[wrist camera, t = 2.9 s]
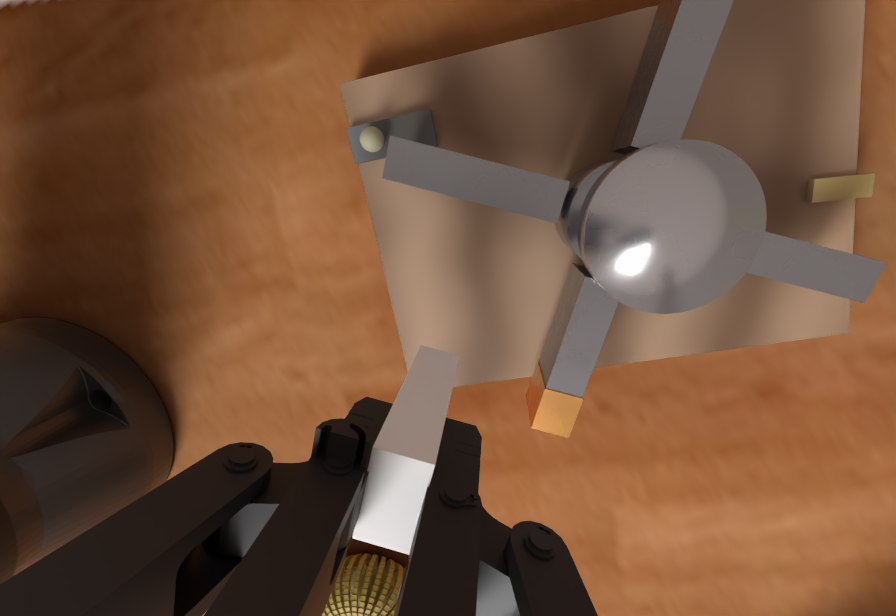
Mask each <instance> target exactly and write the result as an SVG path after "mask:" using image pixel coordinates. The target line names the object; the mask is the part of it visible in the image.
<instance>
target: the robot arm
mask: <svg viewBox="0 0 896 616" xmlns="http://www.w3.org/2000/svg"><path fill="white" fill-rule="evenodd" d="M458 361H459V355H456V354H452V353H448V352H445V351H441V350H437V349H434V348H430V347H426V346H423V345H421V346H420V348H419V350H418V352H417V355H416V357H415V359H414V361H413V363H412V365H411V367H410V369H409V371H408V374H407V376H406V378H405V380H404V382H403V384H402V386H401V388H400V390H399V393H398V395H397V397H396V399H395V401H394V403H393V404H391V403H387V402H384V401H380V400H377V399H373V398H369V397H365V398H363V399H362V400H360V401H358V402H356V403H355V404H354V406H353V407H352V409H351V410H350V412H349V414H348V415H347V416H346V418H345V419H331V420H328V421H325V422H322V423H321V424H320V425H319V426H318V427H316V431H315V437H314V443H313V449H312V454H311V458H310V459H309V461H306V462H301V463H273V457H272V455H271V452H270V451H269V450H267V449H266V448H265V447H263V446H261V445H258V444H254V443H243V442H240V443H235V444H229V445H227V446H225V447H222V448H220V449H218V450H216V451H215V452H213V453H211V454H210V455H208V456H207V457H205V458H203V459H202V460H200V461H198V462H197V463H195V464H194V465H192V466H190V467H189V468H187V469H186V470H184V471H182V472H181V473H179V474H177V475H176V476H174V477H173V478H171V479H169V480H168V481H166V479H167V477H168V474H169V472H170V468H171V464H172V459H173V436H172V430H171V425H170V421H169V418H168V415H167V412H166V410H165V407H164V405H163V403H162V401H161V399H160V397H159V395H158V393H157V392H156V390H155V389H154V387H153V385H152V384H151V383H150V381H149V380H148V378H147V377H146V376H145V375H144V373H143V372H142V371H141V370H140V369H139V368H138V367H137V365H136V364H135V363H134V362H133V361H132V360H131V359H129V358H128V357H127V356H126V355H125V354H124V353H123V352H122V351H120V350H119V349H118V348H116V347H115V346H114V345H112V344H111V343H109V342H108V341H106V340H105V339H103V338H102V337H100V336H98V335H96V334H94V333H93V332H91V331H88V330H86V329H84V328H82V327H79V326H77V325H74V324H71V323H67V322H64V321H60V320H55V319H49V318H21V319H15V320H11V321H8V322H4V323H1V324H0V616H202V615H203V614H204V613H205V612H206V611H207V612H206V613H205V615H204V616H322V614H323V612H324V609H325V607H326V604H327V602H328V599H329V597H330V595H331V592H332V590H333V587H334V585H335V582H336V580H337V577H338V575H339V572H340V570H341V567H342V565H343V562H344V560H345V557H346V553H347V549H348V544H349V540H350V538H351V535H352V533H353V537H352V538H353V539H356V540H360V541H363V542H367V543H370V544H373V545H377V546H380V547H384V548H387V549H391V550H394V551H397V552H401V553H404V554H408V555H409V557H408V561H407V565H406V568H405V572H404V575H403V579H402V583H401V586H400V590H399V593H398V600H397V604H396V608H395V613H394V616H598V615H597V613H596V611H595V608H594V606H593V604H592V602H591V599H590V597H589V595H588V593H587V590H586V588H585V586H584V584H583V581H582V579H581V577H580V575H579V572H578V570H577V568H576V566H575V563H574V561H573V559H572V557H571V555H570V552H569V550H568V548H567V546H566V545H565V543H564V542H563V540H562V538H561V537H560V536H559V535H557V534H556V533H555V532H554V531H553V530H552V529H550V528H548V527H546V526H545V525H543V524H540V523H537V522H533V521H523V522H519V523H518V524H516V525H514V526H513V528H512V529H511V528H509V527H508V526H506V525H504V524H502V523H501V522H499V521H497V520H496V519H495V518H493V517H492V516H491V515H490V514H489V513H488V512H487V511H486V510H485V509H484V508H483V506H482V503H481V498H480V496H479V495H478V486H479V470H480V455H481V440H482V437H481V435H480V433H479V431H478V429H477V427H476V426H474V425H471V424H467V423H463V422H460V421H456V420H453V419H449V418H446V415H447V410H448V406H449V401H450V397H451V392H452V388H453V383H454V379H455V374H456V370H457V365H458ZM165 481H166V482H165ZM353 531H354V532H353Z"/></svg>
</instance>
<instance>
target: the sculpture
mask: <svg viewBox="0 0 896 616" xmlns="http://www.w3.org/2000/svg"><path fill="white" fill-rule="evenodd" d="M378 560H379V556H378V555H376V554H373V556H372V555H371V554H363V555H362V554H356V555H350V556H347V557H345V560H344V562H343V565H342V567H341V570H340V572H339V575H338V577H337V580H336V582H335V585H334V587H333V590H332V592H331V595H330V597H329V599H328V602H327V604H326V607H325V609H324V612H323V614H322V616H394V613H395V608H396V604H397V600H398V593H399V590H400V586H401V583H402V579H403V575H404V572H405V568H403V567H402V566H401V565H400V564H399V563H396V564H395V561H394V560H392V559H389V560H387V562H386V557H384V556H382V557H381V560H380V563H379V566H378V562H379V561H378ZM385 562H386V563H385ZM358 607H359V608H358Z"/></svg>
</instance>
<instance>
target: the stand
mask: <svg viewBox="0 0 896 616" xmlns="http://www.w3.org/2000/svg"><path fill="white" fill-rule="evenodd" d="M658 5H659V4H658ZM658 5H654V6H650V7H646V8H642V9H638V10H634V11H630V12H626V13H622V14H618V15H614V16H610V17H606V18H602V19H598V20H594V21H590V22H586V23H582V24H578V25H574V26H570V27H566V28H562V29H558V30H554V31H550V32H546V33H542V34H538V35H534V36H530V37H526V38H522V39H518V40H514V41H510V42H506V43H502V44H498V45H494V46H490V47H486V48H481V49H477V50H473V51H469V52H465V53H461V54H457V55H453V56H449V57H445V58H441V59H437V60H433V61H429V62H425V63H421V64H417V65H413V66H409V67H405V68H401V69H397V70H393V71H389V72H385V73H381V74H377V75H373V76H369V77H365V78H361V79H357V80H353V81H349V82H345V83H341V84H339V86H340V90H341V94H342V98H343V102H344V107H345V111H346V115H347V119H348V123H349V128H347V132H348V136H349V140H350V144H351V149H352V153H353V157H354V161H355V164H358V165H359V169H360V174H361V178H362V182H363V186H364V190H365V195H366V199H367V203H368V207H369V211H370V215H371V220H372V224H373V228H374V232H375V236H376V241H377V245H378V249H379V253H380V257H381V262H382V266H383V270H384V274H385V278H386V283H387V287H388V291H389V295H390V299H391V303H392V308H393V312H394V316H395V320H396V324H397V329H398V333H399V337H400V341H401V345H402V350H403V354H404V358H405V362H406V366H407V371H409V369H410V367H411V365H412V363H413V361H414V359H415V357H416V355H417V352H418V350H419V348H420V346H421V345H423V346H426V347H430V348H434V349H437V350H441V351H445V352H448V353H452V354H456V355H459V361H458V365H457V370H456V374H455V379H454V383H453V387H457V386H464V385H472V384H479V383H486V382H494V381H501V380H508V379H516V378H523V377H530V376H532V375H533V373H534V370H535V367H536V364H537V361H538V360H539V359H540V356H541V353H542V350H543V347H544V344H545V341H546V338H547V335H548V332H549V329H550V326H551V323H552V320H553V317H554V314H555V311H556V308H557V305H558V302H559V299H560V296H561V293H562V290H563V287H564V284H565V281H566V278H567V275H568V272H569V270H570V267H571V264H572V263H575V264H578V265H582V266H585V265H584V262H583V260H582V259H581V258H580V257H578V256H577V255H576V254H575V253H574V252H573V251H572V250H570V249H569V248H568V247H567V246H566V245H565V244H564V243H563V241H562V240H561V238H560V237H559V235H558V233H557V230H556V227H555V223H553V222H549V221H545V220H541V219H537V218H533V217H530V216H526V215H522V214H518V213H514V212H510V211H506V210H503V209H499V208H495V207H491V206H487V205H483V204H479V203H475V202H472V201H468V200H464V199H460V198H456V197H452V196H448V195H445V194H441V193H437V192H433V191H429V190H425V189H421V188H417V187H414V186H410V185H406V184H402V183H398V182H394V181H390V180H386V179H383V178H382V176H383V170H384V165H385V160H386V155H387V149H388V144H389V139H390V136H394V137H398V138H402V139H406V140H410V141H414V142H418V143H422V144H425V145H429V146H433V147H437V148H441V149H445V150H449V151H453V152H457V153H461V154H464V155H468V156H472V157H476V158H480V159H484V160H488V161H492V162H496V163H500V164H503V165H507V166H511V167H515V168H519V169H523V170H527V171H531V172H535V173H539V174H543V175H546V176H550V177H554V178H558V179H562V180H566V181H568V179H569V178H570V177H571V176H573V175H574V174H575V173H576V172H578V171H579V170H581V169H583V168H585V167H587V166H590V165H593V164H597V163H602V162H608V161H615V160H618V159H620V158H621V157H623V156H624V155H623V154H619V153H615V152H611V151H610V148H611V145H612V142H613V139H614V136H615V133H616V130H617V127H618V124H619V121H620V118H621V115H622V112H623V109H624V106H625V103H626V100H627V97H628V94H629V92H630V89H631V86H632V83H633V80H634V77H635V74H636V71H637V68H638V65H639V62H640V59H641V56H642V53H643V50H644V47H645V44H646V41H647V38H648V35H649V32H650V29H651V26H652V23H653V20H654V17H655V14H656V11H657V8H658ZM864 16H865V0H734V1H733V3H732V6H731V9H730V11H729V14H728V17H727V19H726V22H725V24H724V27H723V30H722V32H721V35H720V37H719V40H718V43H717V45H716V48H715V51H714V53H713V56H712V58H711V61H710V64H709V66H708V69H707V72H706V74H705V77H704V79H703V82H702V85H701V87H700V90H699V93H698V95H697V98H696V100H695V103H694V106H693V108H692V111H691V114H690V116H689V119H688V121H687V124H686V127H685V129H684V132H683V135H682V137H681V140H682V139H691V140H701V141H707V142H711V143H714V144H717V145H720V146H722V147H724V148H726V149H728V150H730V151H732V152H733V153H735V154H736V155H737V156H739V157H740V158H741V159H742V160H743V161H744V162H745V163H746V164H747V165H748V166H749V167H750V168H751V170H752V171H753V172H754V174H755V175H756V177H757V179H758V181H759V183H760V185H761V187H762V190H763V193H764V197H765V202H766V213H767V220H766V229H765V232H769V233H773V234H777V235H781V236H785V237H788V238H792V239H796V240H800V241H804V242H808V243H812V244H816V245H820V246H824V247H827V248H831V249H835V250H839V251H843V252H847V253H851V254H853V239H854V219H855V199H856V198H865V197H872V192H873V186H874V179H875V173H865V174H857V158H858V138H859V118H860V97H861V77H862V57H863V37H864ZM850 300H851V299H847V298H843V297H839V296H835V295H831V294H827V293H824V292H820V291H816V290H812V289H808V288H804V287H800V286H796V285H793V284H789V283H785V282H781V281H777V280H773V279H769V278H766V277H762V276H758V275H754V274H750V273H746V274H745V275H744V276H743V277H742V278H741V279H740V280H739V281H738V283H736V284H735V285H734V286H733V287H732V288H731V289H730V290H729V291H727V292H726V293H725V294H723V295H722V296H720V297H719V298H717V299H715V300H714V301H712V302H710V303H708V304H706V305H703V306H701V307H699V308H696V309H693V310H689V311H686V312H680V313H673V314H656V313H648V312H643V311H639V310H636V309H633V308H631V307H629V306H627V305H624V304H622V303H621V302H619V303H618V305H617V308H616V310H615V313H614V316H613V318H612V321H611V324H610V326H609V329H608V331H607V334H606V337H605V339H604V342H603V345H602V347H601V350H600V352H599V355H598V358H597V360H596V363H595V365H594V368H597V367H604V366H611V365H619V364H626V363H633V362H641V361H648V360H655V359H663V358H670V357H677V356H685V355H692V354H699V353H707V352H714V351H722V350H729V349H736V348H744V347H751V346H758V345H766V344H773V343H780V342H788V341H795V340H802V339H810V338H817V337H824V336H832V335H839V334H847V333H849V320H850Z"/></svg>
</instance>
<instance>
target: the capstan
mask: <svg viewBox="0 0 896 616" xmlns="http://www.w3.org/2000/svg"><path fill="white" fill-rule="evenodd" d="M733 1H734V0H660V3H659V5H658V8H657V11H656V14H655V17H654V20H653V23H652V26H651V29H650V32H649V35H648V38H647V41H646V44H645V47H644V50H643V53H642V56H641V59H640V62H639V65H638V68H637V71H636V74H635V77H634V80H633V83H632V86H631V89H630V92H629V94H628V97H627V100H626V103H625V106H624V109H623V112H622V115H621V118H620V121H619V124H618V127H617V130H616V133H615V136H614V139H613V142H612V145H611V148H610V151H611V152H615V153H619V154H623V155H624V156H623V157H621V158H620V159H618V160H615V161H608V162H602V163H597V164H593V165H590V166H587V167H585V168H583V169H581V170H579V171H578V172H576V173H575V174H574V175H573V176H571V177H570V178H569V179H568V181H566V180H562V179H558V178H554V177H550V176H546V175H543V174H539V173H535V172H531V171H527V170H523V169H519V168H515V167H511V166H507V165H503V164H500V163H496V162H492V161H488V160H484V159H480V158H476V157H472V156H468V155H464V154H461V153H457V152H453V151H449V150H445V149H441V148H437V147H433V146H429V145H425V144H422V143H418V142H414V141H410V140H406V139H402V138H398V137H394V136H390V139H389V144H388V149H387V155H386V160H385V165H384V170H383V176H382V178H383V179H386V180H390V181H394V182H398V183H402V184H406V185H410V186H414V187H417V188H421V189H425V190H429V191H433V192H437V193H441V194H445V195H448V196H452V197H456V198H460V199H464V200H468V201H472V202H475V203H479V204H483V205H487V206H491V207H495V208H499V209H503V210H506V211H510V212H514V213H518V214H522V215H526V216H530V217H533V218H537V219H541V220H545V221H549V222H553V223H555V227H556V230H557V233H558V235H559V237H560V238H561V240H562V241H563V243H564V244H565V245H566V246H567V247H568V248H569V249H570V250H572V251H573V252H574V253H575V254H576V255H577V256H578V257H580V258H581V259H582V260H583V262H584V265H585V266H582V265H578V264H575V263H572V264H571V267H570V270H569V272H568V275H567V278H566V281H565V284H564V287H563V290H562V293H561V296H560V299H559V302H558V305H557V308H556V311H555V314H554V317H553V320H552V323H551V326H550V329H549V332H548V335H547V338H546V341H545V344H544V347H543V350H542V353H541V356H540V359H539V360H538V361H537V364H536V367H535V370H534V373H533V375H532V378H531V381H530V384H529V387H528V390H527V393H526V398H527V405H528V411H529V417H530V423H531V428H533V429H537V430H541V431H545V432H548V433H552V434H556V435H559V436H563V437H567V438H569V435H570V433H571V430H572V428H573V425H574V422H575V420H576V417H577V414H578V412H579V409H580V407H581V404H582V401H583V394H584V392H585V389H586V386H587V384H588V381H589V379H590V376H591V373H592V371H593V368H594V365H595V363H596V360H597V358H598V355H599V352H600V350H601V347H602V345H603V342H604V339H605V337H606V334H607V331H608V329H609V326H610V324H611V321H612V318H613V316H614V313H615V310H616V308H617V305H618V303H619V302H621V303H622V304H624V305H627V306H629V307H631V308H633V309H636V310H639V311H643V312H648V313H656V314H673V313H680V312H686V311H689V310H693V309H696V308H699V307H701V306H703V305H706V304H708V303H710V302H712V301H714V300H715V299H717V298H719V297H720V296H722V295H723V294H725V293H726V292H727V291H729V290H730V289H731V288H732V287H733V286H734V285H735V284H736V283H738V281H739V280H740V279H741V278H742V277H743V276H744V275H745V274H746V273H750V274H754V275H758V276H762V277H766V278H769V279H773V280H777V281H781V282H785V283H789V284H793V285H796V286H800V287H804V288H808V289H812V290H816V291H820V292H824V293H827V294H831V295H835V296H839V297H843V298H847V299H851V300H855V301H858V302H862V303H864V302H865V300H866V299H867V297H868V295H869V293H870V292H871V290H872V288H873V286H874V284H875V283H876V281H877V279H878V277H879V276H880V274H881V272H882V270H883V268H884V267H885V265H886V262H882V261H878V260H874V259H870V258H866V257H863V256H859V255H855V254H851V253H847V252H843V251H839V250H835V249H831V248H827V247H824V246H820V245H816V244H812V243H808V242H804V241H800V240H796V239H792V238H788V237H785V236H781V235H777V234H773V233H769V232H765V229H766V220H767V213H766V202H765V197H764V193H763V190H762V187H761V185H760V183H759V181H758V179H757V177H756V175H755V174H754V172H753V171H752V170H751V168H750V167H749V166H748V165H747V164H746V163H745V162H744V161H743V160H742V159H741V158H740V157H739V156H737V155H736V154H735V153H733V152H732V151H730V150H728V149H726V148H724V147H722V146H720V145H717V144H714V143H711V142H707V141H701V140H691V139H682V140H681V137H682V135H683V132H684V129H685V127H686V124H687V121H688V119H689V116H690V114H691V111H692V108H693V106H694V103H695V100H696V98H697V95H698V93H699V90H700V87H701V85H702V82H703V79H704V77H705V74H706V72H707V69H708V66H709V64H710V61H711V58H712V56H713V53H714V51H715V48H716V45H717V43H718V40H719V37H720V35H721V32H722V30H723V27H724V24H725V22H726V19H727V17H728V14H729V11H730V9H731V6H732V3H733Z"/></svg>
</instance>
